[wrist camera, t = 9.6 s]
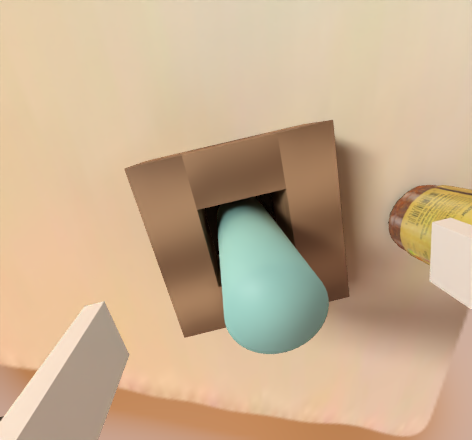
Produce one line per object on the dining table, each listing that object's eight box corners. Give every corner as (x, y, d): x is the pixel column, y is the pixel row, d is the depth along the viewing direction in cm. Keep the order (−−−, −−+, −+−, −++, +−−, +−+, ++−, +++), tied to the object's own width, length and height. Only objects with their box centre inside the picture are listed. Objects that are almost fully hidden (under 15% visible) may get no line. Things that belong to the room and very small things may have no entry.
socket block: (145, 161, 19) (124, 168, 14) (302, 124, 19) (333, 120, 15) (189, 296, 23) (184, 337, 18) (320, 264, 23) (349, 296, 18)
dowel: (211, 200, 20) (212, 278, 9) (260, 188, 20) (322, 251, 9) (223, 245, 22) (236, 364, 10) (269, 234, 22) (333, 339, 10)
